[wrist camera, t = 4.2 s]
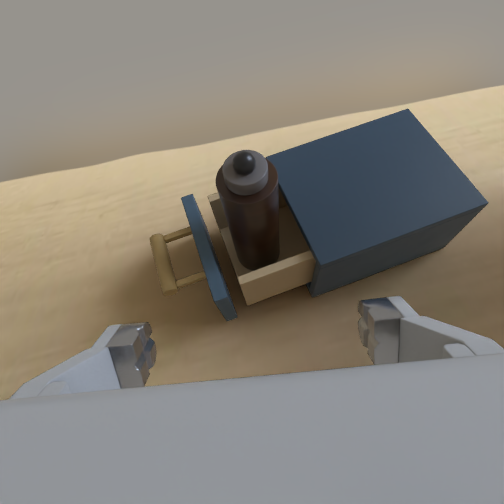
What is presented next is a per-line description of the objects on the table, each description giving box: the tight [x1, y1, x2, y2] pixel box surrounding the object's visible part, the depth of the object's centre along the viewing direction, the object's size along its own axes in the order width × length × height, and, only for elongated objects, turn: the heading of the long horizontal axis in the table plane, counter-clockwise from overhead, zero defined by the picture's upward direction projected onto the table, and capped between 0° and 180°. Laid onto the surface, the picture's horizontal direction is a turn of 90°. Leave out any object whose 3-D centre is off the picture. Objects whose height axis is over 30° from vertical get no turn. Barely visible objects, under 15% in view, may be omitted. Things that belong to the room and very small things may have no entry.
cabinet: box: [266, 109, 488, 297], centre depth 34 cm, size 16×13×9 cm
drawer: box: [150, 187, 316, 321], centre depth 33 cm, size 19×11×7 cm, turn 110°
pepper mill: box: [216, 150, 280, 271], centre depth 28 cm, size 5×5×15 cm
